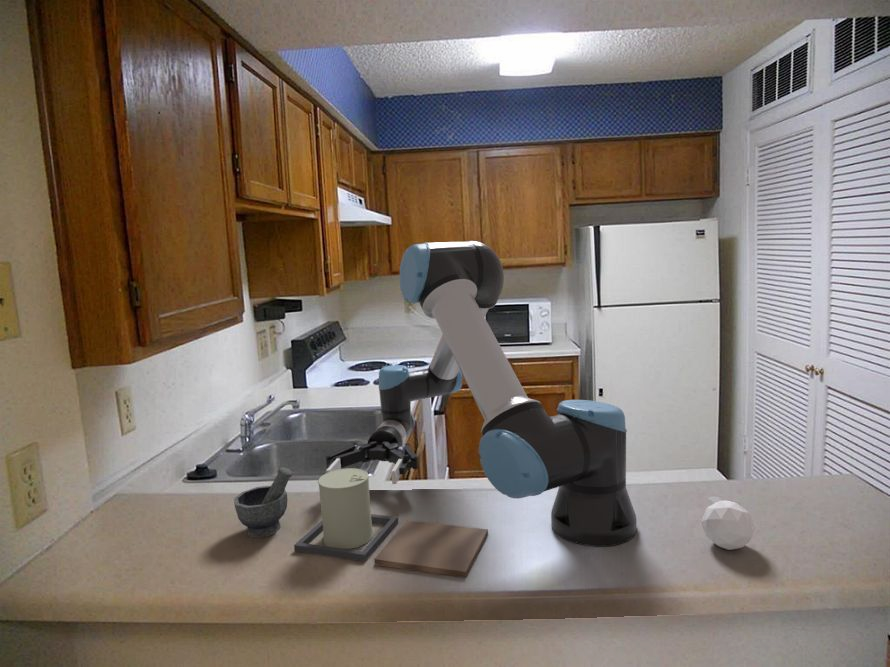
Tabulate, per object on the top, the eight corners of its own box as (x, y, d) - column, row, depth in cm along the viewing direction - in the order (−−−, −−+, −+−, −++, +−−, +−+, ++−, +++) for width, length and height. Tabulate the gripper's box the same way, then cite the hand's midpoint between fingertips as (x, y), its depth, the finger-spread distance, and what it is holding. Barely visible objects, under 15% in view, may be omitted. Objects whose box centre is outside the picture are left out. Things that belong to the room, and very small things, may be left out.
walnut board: (487, 534, 103) (487, 529, 103) (465, 577, 90) (465, 571, 90) (406, 525, 108) (406, 520, 108) (374, 564, 95) (374, 559, 95)
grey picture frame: (398, 522, 109) (397, 516, 109) (365, 561, 96) (364, 554, 96) (334, 515, 114) (333, 509, 114) (294, 551, 101) (293, 545, 101)
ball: (720, 565, 94) (693, 533, 93) (717, 528, 101) (692, 497, 99) (766, 554, 90) (739, 520, 89) (760, 516, 97) (735, 484, 95)
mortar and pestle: (232, 544, 105) (224, 483, 103) (242, 521, 114) (236, 464, 112) (294, 537, 106) (288, 476, 104) (300, 514, 115) (294, 458, 113)
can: (363, 551, 100) (358, 486, 98) (314, 548, 102) (308, 484, 100) (379, 525, 109) (375, 466, 107) (334, 523, 111) (329, 464, 109)
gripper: (439, 456, 133) (422, 496, 112) (338, 455, 137) (303, 493, 116) (438, 425, 132) (420, 459, 111) (335, 425, 136) (300, 458, 115)
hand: (360, 477), depth 114 cm, fingers open, 13 cm apart
